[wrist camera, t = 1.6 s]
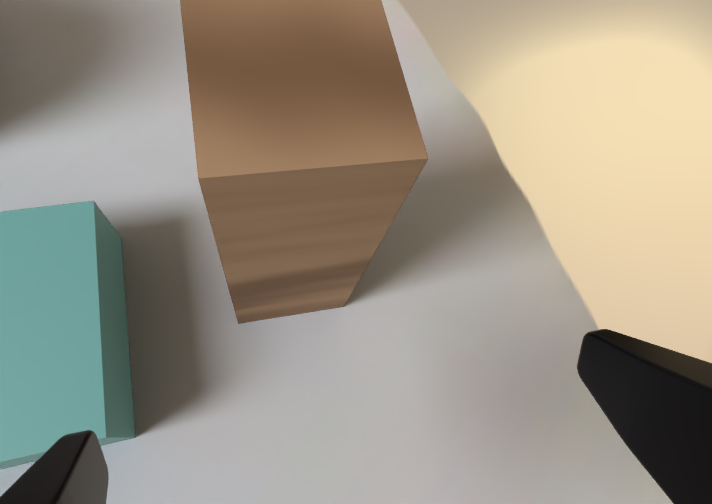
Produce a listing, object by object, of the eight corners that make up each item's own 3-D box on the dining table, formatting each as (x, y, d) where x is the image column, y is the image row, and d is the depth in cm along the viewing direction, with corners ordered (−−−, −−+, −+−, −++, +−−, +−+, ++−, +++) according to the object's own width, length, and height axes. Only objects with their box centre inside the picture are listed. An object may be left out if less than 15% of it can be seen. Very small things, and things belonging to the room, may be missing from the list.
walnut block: (343, 306, 22) (428, 158, 10) (238, 323, 21) (198, 178, 9) (325, 214, 24) (379, -4, 12) (226, 225, 23) (179, -5, 11)
